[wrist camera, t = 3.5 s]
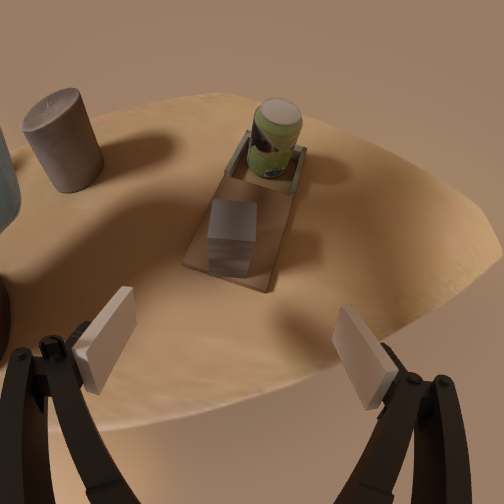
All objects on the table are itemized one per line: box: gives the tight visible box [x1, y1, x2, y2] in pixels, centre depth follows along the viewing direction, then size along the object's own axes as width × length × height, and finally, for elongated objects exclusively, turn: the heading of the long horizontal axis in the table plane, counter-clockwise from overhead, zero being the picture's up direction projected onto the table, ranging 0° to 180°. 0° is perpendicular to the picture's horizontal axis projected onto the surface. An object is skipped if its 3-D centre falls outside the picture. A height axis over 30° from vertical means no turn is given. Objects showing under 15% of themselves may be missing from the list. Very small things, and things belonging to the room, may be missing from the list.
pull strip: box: [182, 130, 307, 293], centre depth 32 cm, size 10×24×10 cm, turn 163°
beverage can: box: [247, 98, 303, 178], centre depth 34 cm, size 6×7×12 cm
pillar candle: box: [20, 88, 104, 193], centre depth 29 cm, size 10×10×15 cm
